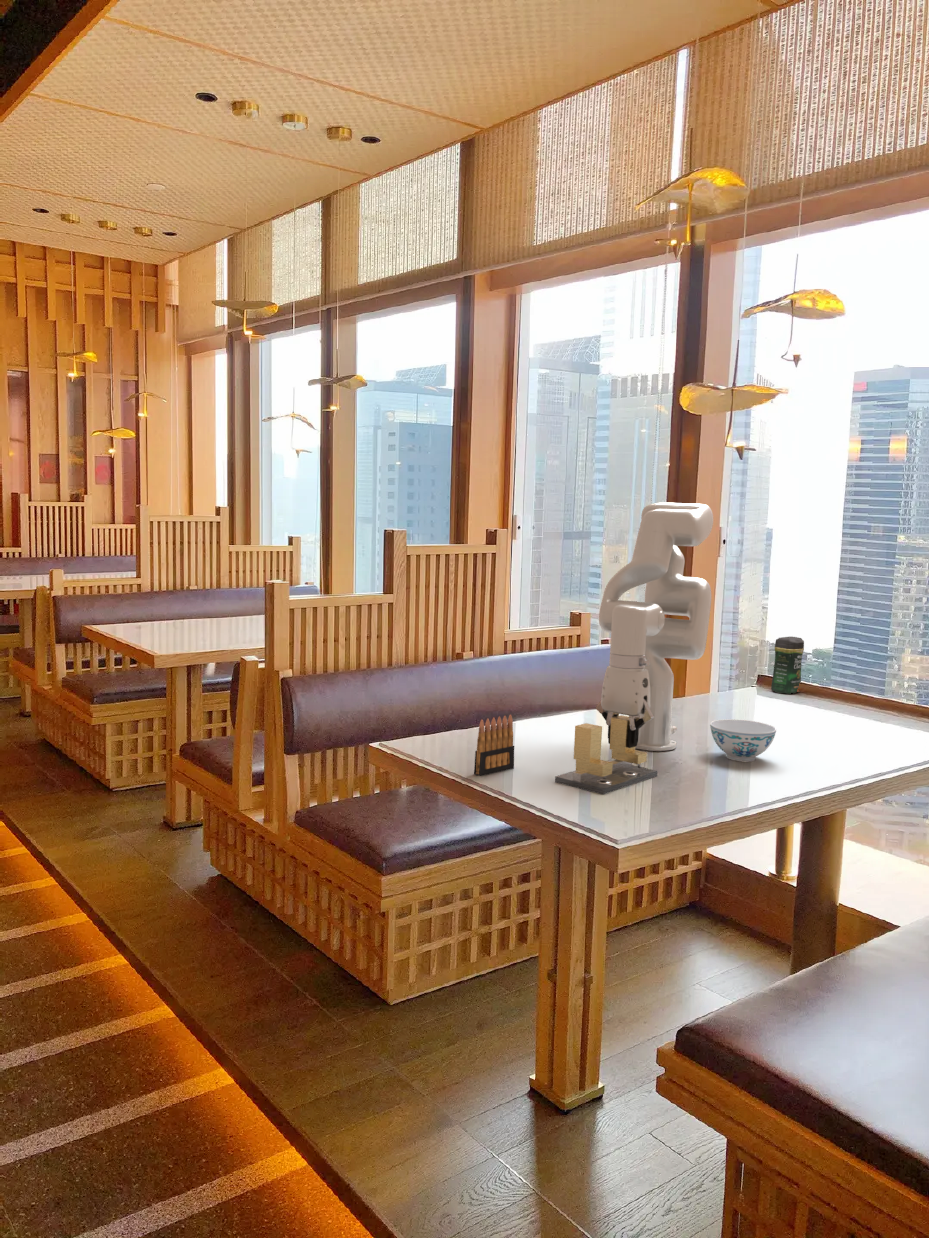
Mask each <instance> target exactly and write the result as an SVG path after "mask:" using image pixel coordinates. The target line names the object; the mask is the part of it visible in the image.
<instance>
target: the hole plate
mask: <svg viewBox="0 0 929 1238" xmlns="http://www.w3.org/2000/svg"><path fill="white" fill-rule="evenodd" d="M602 732H603V726H601V725H597V724H591V723H587V722H586V723H585V722H584V723H581V724H577V725H574V742H573V760H575V770H572V771H569V772H566V773H563V774H559V775H557V776H554V782H555V783H556V784H562V785H564V786H570V787H573V788H576V789H581V790H585V791H590V792H592V793H597V794H600V795H606V794H609V793H612V792H614V791H617V790H620V789H623V788H626V787H629V786H632V785H635V784H637V783H641V782H643V781H646V780H649V779H652V778H655V777H657V776H658V770H657V769H652V768H647V767H644V766H641V768H638V765H636V764H635V765H634V764H633V763H630V762H625V761H621V760H616V759H612V760H611V759H609V760H604V759H603V760H602V759H601V757H602V756H601V755H602V754H601V753H602V739H603V738H602V736H603V733H602Z"/></svg>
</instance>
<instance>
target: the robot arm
mask: <svg viewBox="0 0 929 1238" xmlns="http://www.w3.org/2000/svg"><path fill="white" fill-rule="evenodd" d="M640 518H641V520H640V524H639V528H638V534H637V536H636V537H637V538H636V540H635V541H636V542H635V545H634V549H633V555H632V558H631V561H629V563H627V564H626V565H623V567H622V568H620V569H619V570H618V571H617V572H616V573H615V574H614V575H613V576H612V577H611V578H610V580H609V581H608V582H607V584H606V586H605V588H604V592H603V595H602V598H601V603H600V608H599V613H598V623H599V626H600V628H601V629H602V631H604V632H605V633H609V634H610V648H609V650H610V651H609V665H607V666H606V669H605V674H604V677H603V682H602V688H601V689H602V690H601V699H600V701H599V702H598V703H597V705H596V707H595V709H596V711H597V712H598V713H599V714H600V715H601V716H602V717H603V719H604V720H605V724H606V726H607V739H608V742H607V744H609V745H610V731H611V718H612V717H616V716H620V715H622V716H628V717H629V722H630V729H629V730H628V735H627V747H628V748H632V747H635V750H640V751H651V752H653V751H654V752H664V751H665V752H667V751H672V750H674V749H676V748H677V742H676V741H675V740H674V739H671V736H672V735H674V734H676V733H677V732H678V728H677V726H676V725H672V715H673V713H672V712H673V701H674V700H673V697H674V681H675V678H674V673H673V672H674V671H672V668H671V666H670V665H669V663H668V662H667V661H666V659H678V660H692V661H694V660H699V659H700V658H702V657H703V656H704V654H705V650H706V649H707V640H708V632H709V623H710V615H711V606H712V588H711V585H710V583H709V582H708V581H707V580H706V579H704V578H702V577H701V578H700V577H694V576H684V568H685V556H684V554H683V552H682V551H681V549H680V548H679V547H697V546H699V545H701V544H702V543H703V542H704V541H705V540H706V539H708V538H709V536H710V534H711V532H712V529H713V526H714V514H713V511H712V508H711V507H710V506H709V505H708V504H704V503H682V502H655V503H649V504H648V505H645V507H643V509H642V511H641V517H640ZM678 546H679V547H678ZM644 584H646V585H645V592H644V602H643V601H635V600H634V601H633V600H621V599H620V598H621V596H622V595H624V594H625V593H626V592H628V591H629V590H631V589H633V588H636V587H640V586H642V585H644ZM665 615H671V616H682V617H684V616H685V617H688V618H689V619H678V618H670V617H666V616H665Z"/></svg>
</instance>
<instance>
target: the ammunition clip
mask: <svg viewBox="0 0 929 1238" xmlns="http://www.w3.org/2000/svg"><path fill="white" fill-rule="evenodd" d="M513 723H514V722H513V716H512V714H509V716H508V718H507V716H506V715H504V716H503V717H502V718H501V716H500V715H499V716H498V717H497V720H496V719H495V717H492V719H491V722H490V719H489V717H487V718H486V720H485V722H484V720H483V719H482V718H481V719H480V722H479V726H478V735H477V740H476V741H477V743H476V750H475V754H474V766H473V769H474V770H473V775H474V776H478V777H483V776H487V775H492V774H495V773H499V772H500V773H501V772H505V771H509V770H514V769H515V745H514V728H513V727H514V725H513Z"/></svg>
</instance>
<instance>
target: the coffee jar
mask: <svg viewBox="0 0 929 1238" xmlns="http://www.w3.org/2000/svg"><path fill="white" fill-rule="evenodd" d="M804 650H805V641H804V640H803V638H801V637H797V636H783V637H778V638H777V639H775V643H774V663H773V673H772V678H771V686H770V688H771V691H773V692H775V693H777V694H788V695H789V694H790V695H792V694H791V693H793V694H797V693H796V692H797V689H798V687H799V683H800V682H801V683H802V661H803V660H802V659H803V654H804V652H805V651H804Z"/></svg>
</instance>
